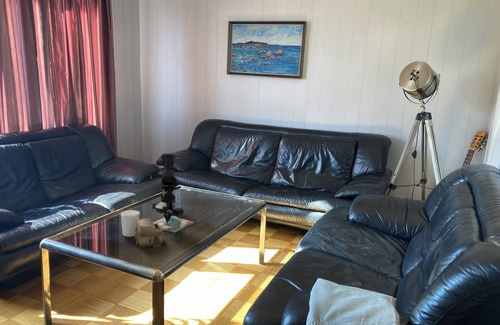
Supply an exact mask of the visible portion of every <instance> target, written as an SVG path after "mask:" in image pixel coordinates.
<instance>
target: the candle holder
mask: <svg viewBox="0 0 500 325" xmlns="http://www.w3.org/2000/svg"><path fill="white" fill-rule="evenodd" d="M140 215H141V214H140V211H138V210H135V209H131V210H130V209H129V210H127V209H126V210H124V211H122V212H121V213H120V219H121V234H122V235H123V236H124V237H127V238H128V237H130V238H131V237H135V233H136V231H135V230H136V229H135V228H136V219H140Z"/></svg>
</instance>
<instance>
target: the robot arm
mask: <svg viewBox="0 0 500 325" xmlns="http://www.w3.org/2000/svg"><path fill="white" fill-rule="evenodd" d="M160 161H161V162H162V163H161V165H162V167H163V168H164V171H163V173H162V176H161V190H162V191H161V194H160V201H156V202H155V203H153V204H152V206H151V207H152V210H155V212H157V213H160V214H163V218H165V220H166V223H168V222H169V220H170V218H171V216H176V217H179V216H182V215H183V214H184V211H185V209H183V208H180V207H176V208H175V204H176V196H175V193H174V192H175V191H174V190H176V188H177V187H178V186H177V184H178V179H177V178H176V176H175V173H174V172H173V166H174V165H175V161H176V154H174V153H164V152H163V154H161V155H160Z"/></svg>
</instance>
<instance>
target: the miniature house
mask: <svg viewBox="0 0 500 325" xmlns="http://www.w3.org/2000/svg"><path fill="white" fill-rule="evenodd" d="M135 229H136V230H135V231H136V233H135V236H134V238H133V242H134V243H135V245H134V246H135V247H139V248H140V249H142V248H149V247H151V248H152V247H153V248H154V249H155V248H161V247H162V246H163V243H164V244H165V243H166V242H165V239H164V230H162V229H161V227H160V225H159V224H158V223H155V224H153V221H152V218H151V217H146V218H139V219H136V228H135Z"/></svg>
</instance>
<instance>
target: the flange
mask: <svg viewBox="0 0 500 325" xmlns="http://www.w3.org/2000/svg"><path fill="white" fill-rule="evenodd" d="M179 218H180V217H178V216H175V215H172V216H171V218H170V220H169V222H168V223H166V220H165V219H164V220H163V223H164V224H166V225H171V227H172V229H178V221H180V223H181V220H180V219H179Z"/></svg>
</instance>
